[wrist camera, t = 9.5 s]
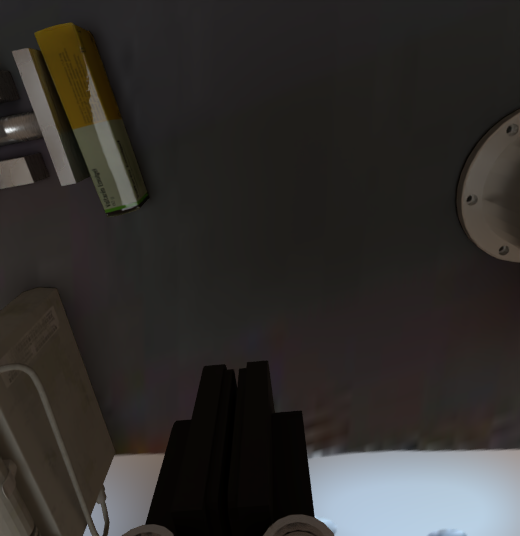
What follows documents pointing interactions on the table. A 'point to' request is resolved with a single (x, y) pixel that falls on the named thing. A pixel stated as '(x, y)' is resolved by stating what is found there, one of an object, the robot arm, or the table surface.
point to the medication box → (93, 116)
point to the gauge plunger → (44, 119)
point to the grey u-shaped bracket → (25, 166)
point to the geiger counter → (48, 424)
